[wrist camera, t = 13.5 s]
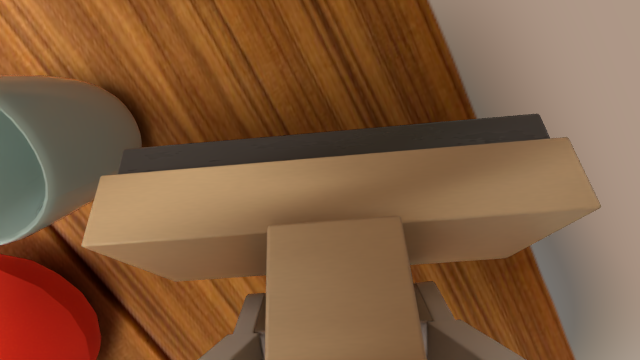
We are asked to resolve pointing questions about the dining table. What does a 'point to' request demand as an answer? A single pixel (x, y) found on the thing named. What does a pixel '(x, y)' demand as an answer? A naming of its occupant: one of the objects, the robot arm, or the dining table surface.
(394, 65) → the dining table surface
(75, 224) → the dining table surface
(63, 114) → the cup
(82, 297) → the tomato
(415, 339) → the brush
